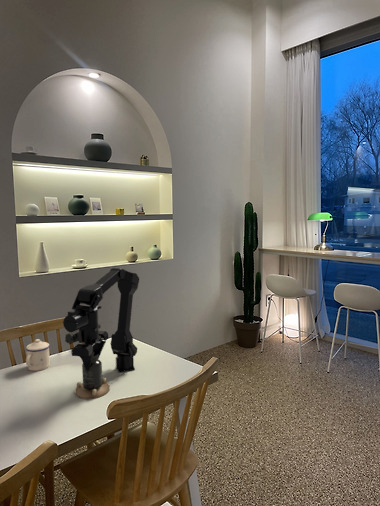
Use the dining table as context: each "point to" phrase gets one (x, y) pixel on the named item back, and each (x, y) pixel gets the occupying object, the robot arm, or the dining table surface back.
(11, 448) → the dining table surface
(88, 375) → the supplement bottle
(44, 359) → the teacup with lid
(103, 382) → the dowel base
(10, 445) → the dining table surface
